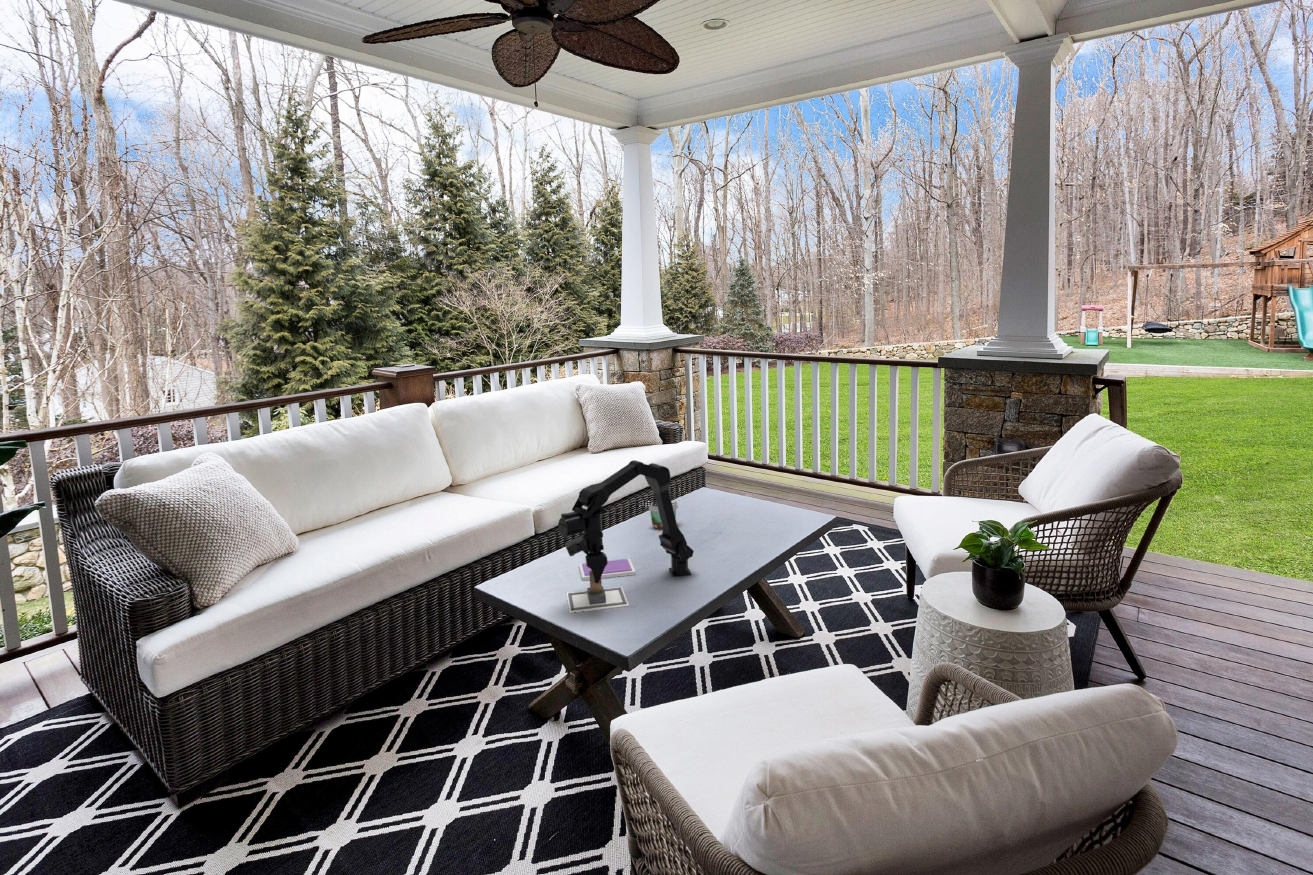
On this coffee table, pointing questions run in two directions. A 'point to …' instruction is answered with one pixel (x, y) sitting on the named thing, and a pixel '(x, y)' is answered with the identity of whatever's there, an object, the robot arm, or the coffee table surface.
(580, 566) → the ink pad
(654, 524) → the food container
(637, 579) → the coffee table surface
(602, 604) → the marked board
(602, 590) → the stamp
